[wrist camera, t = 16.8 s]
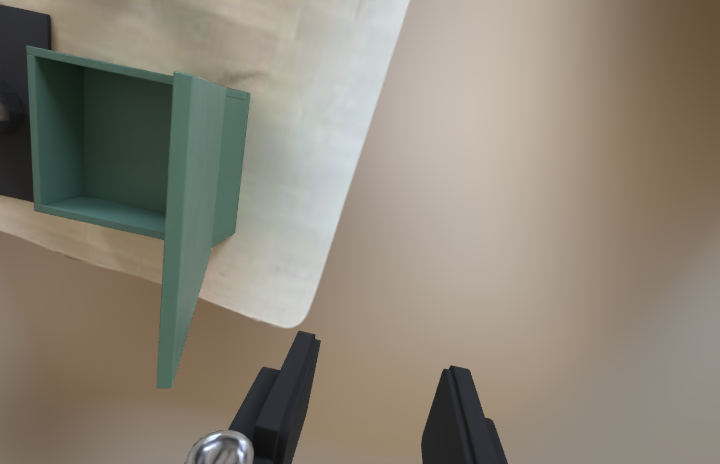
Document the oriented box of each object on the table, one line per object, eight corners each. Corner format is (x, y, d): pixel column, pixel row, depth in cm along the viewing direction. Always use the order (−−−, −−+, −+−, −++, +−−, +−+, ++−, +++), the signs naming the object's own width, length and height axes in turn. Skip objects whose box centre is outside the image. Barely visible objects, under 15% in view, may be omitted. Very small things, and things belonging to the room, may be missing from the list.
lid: (156, 389, 21) (172, 388, 21) (173, 70, 16) (193, 75, 16) (203, 250, 39) (211, 251, 40) (217, 85, 35) (226, 87, 35)
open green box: (83, 199, 47) (34, 211, 40) (82, 58, 42) (25, 45, 36) (235, 232, 46) (209, 250, 40) (250, 93, 42) (224, 87, 35)
